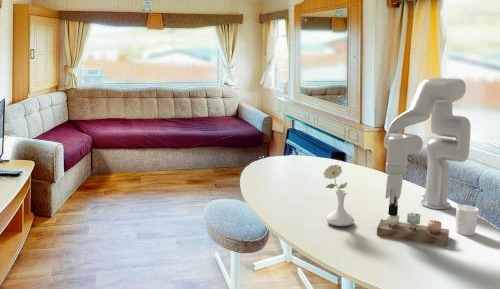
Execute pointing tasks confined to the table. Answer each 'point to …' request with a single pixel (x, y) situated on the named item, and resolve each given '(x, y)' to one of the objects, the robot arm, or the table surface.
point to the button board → (413, 233)
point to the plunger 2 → (413, 219)
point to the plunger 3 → (434, 226)
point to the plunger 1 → (392, 220)
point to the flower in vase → (339, 215)
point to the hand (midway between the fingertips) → (392, 214)
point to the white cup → (466, 219)
